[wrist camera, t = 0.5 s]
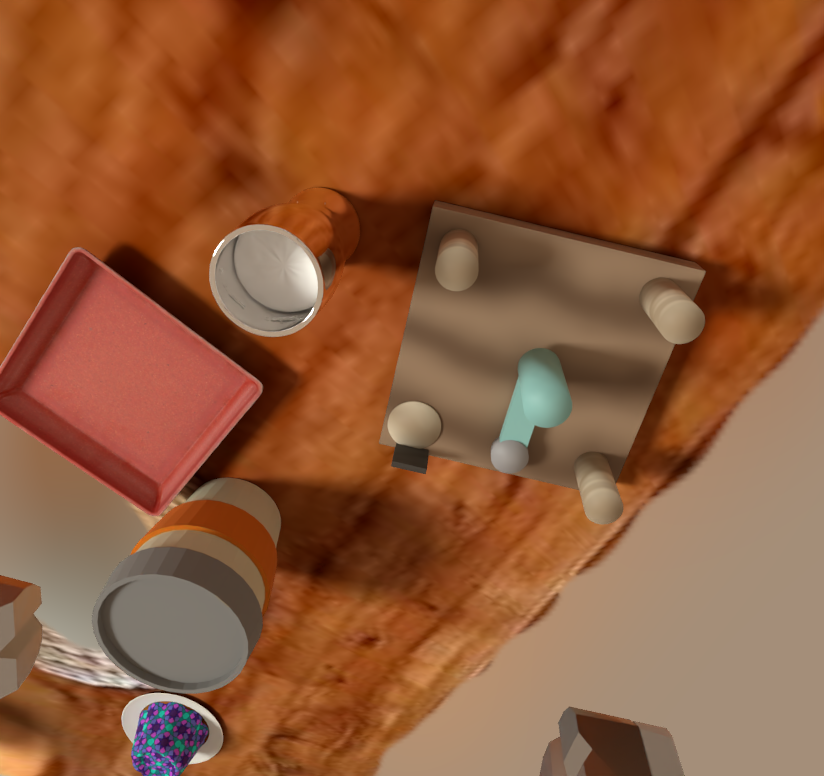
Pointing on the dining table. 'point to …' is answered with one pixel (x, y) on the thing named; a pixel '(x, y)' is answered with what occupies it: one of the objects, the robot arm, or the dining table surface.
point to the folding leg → (531, 408)
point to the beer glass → (284, 262)
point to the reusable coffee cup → (193, 590)
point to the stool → (535, 346)
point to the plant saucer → (121, 385)
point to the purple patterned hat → (169, 734)
